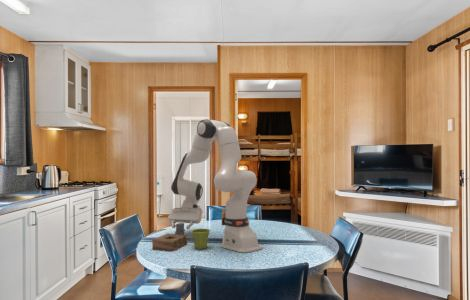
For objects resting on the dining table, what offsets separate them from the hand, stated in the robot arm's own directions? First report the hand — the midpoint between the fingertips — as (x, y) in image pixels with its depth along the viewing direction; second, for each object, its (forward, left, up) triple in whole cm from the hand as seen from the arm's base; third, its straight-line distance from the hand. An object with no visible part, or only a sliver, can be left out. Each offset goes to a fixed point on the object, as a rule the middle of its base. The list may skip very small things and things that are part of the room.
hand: (180, 228), depth 186 cm
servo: (0, 0, -5) cm, 5 cm away
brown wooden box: (-14, +12, -5) cm, 20 cm away
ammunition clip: (+14, -43, -6) cm, 45 cm away
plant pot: (-25, 0, -6) cm, 26 cm away
